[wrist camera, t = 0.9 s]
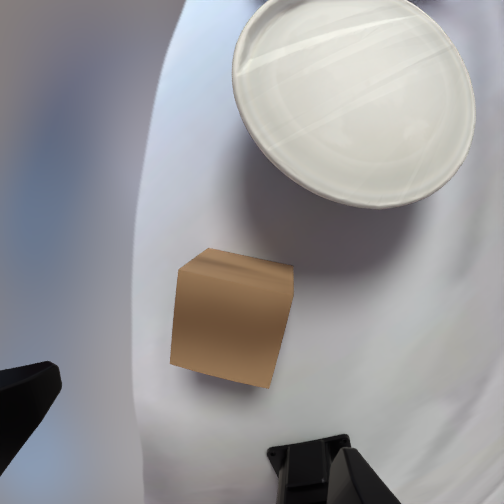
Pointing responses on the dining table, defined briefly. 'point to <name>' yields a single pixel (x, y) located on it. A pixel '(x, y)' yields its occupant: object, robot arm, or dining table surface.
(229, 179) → the dining table surface
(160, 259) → the dining table surface
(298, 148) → the ramekin
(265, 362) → the walnut cube
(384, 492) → the robot arm
